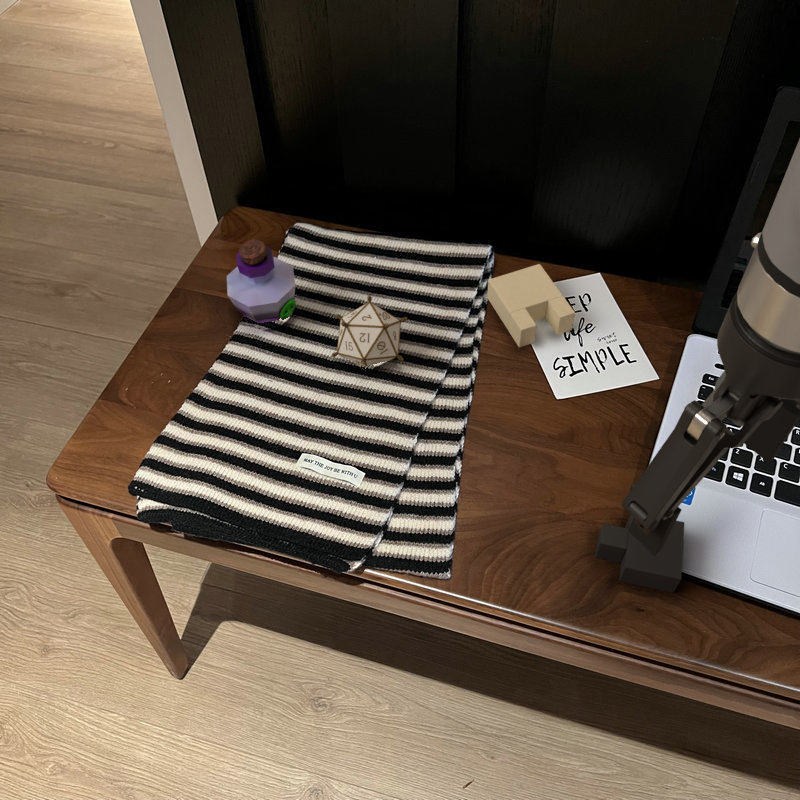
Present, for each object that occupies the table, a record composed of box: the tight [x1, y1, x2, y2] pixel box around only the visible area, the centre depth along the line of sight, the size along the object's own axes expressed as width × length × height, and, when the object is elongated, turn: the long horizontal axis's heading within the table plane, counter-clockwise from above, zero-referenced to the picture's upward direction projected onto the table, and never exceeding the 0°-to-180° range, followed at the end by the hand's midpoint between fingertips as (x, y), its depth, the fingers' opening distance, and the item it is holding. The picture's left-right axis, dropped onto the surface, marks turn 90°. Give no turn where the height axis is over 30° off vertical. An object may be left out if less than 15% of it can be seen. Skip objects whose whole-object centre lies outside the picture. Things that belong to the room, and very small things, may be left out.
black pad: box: [594, 513, 685, 594], centre depth 74 cm, size 8×6×4 cm
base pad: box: [486, 263, 576, 348], centre depth 94 cm, size 9×7×4 cm
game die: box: [330, 293, 408, 370], centre depth 90 cm, size 9×8×10 cm
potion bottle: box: [226, 238, 297, 323], centre depth 93 cm, size 9×9×12 cm
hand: (703, 494), depth 63 cm, fingers open, 13 cm apart
